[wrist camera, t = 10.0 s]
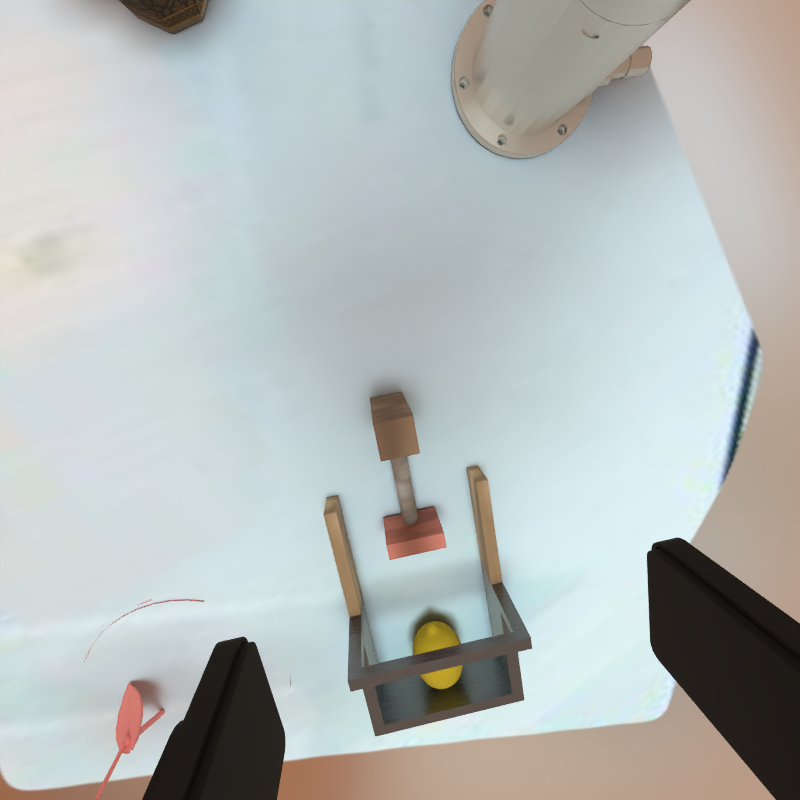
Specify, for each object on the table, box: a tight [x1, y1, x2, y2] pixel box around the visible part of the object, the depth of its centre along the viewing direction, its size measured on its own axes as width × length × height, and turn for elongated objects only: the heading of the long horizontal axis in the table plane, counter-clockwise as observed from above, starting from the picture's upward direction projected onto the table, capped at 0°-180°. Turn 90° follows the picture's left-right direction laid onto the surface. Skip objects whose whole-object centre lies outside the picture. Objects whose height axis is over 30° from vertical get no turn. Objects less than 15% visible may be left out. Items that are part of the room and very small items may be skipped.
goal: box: [348, 564, 532, 736], centre depth 43 cm, size 16×13×11 cm
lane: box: [324, 466, 502, 617], centre depth 43 cm, size 16×12×4 cm
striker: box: [370, 392, 446, 560], centre depth 38 cm, size 6×15×9 cm, turn 10°
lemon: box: [413, 621, 463, 689], centre depth 46 cm, size 6×6×8 cm
